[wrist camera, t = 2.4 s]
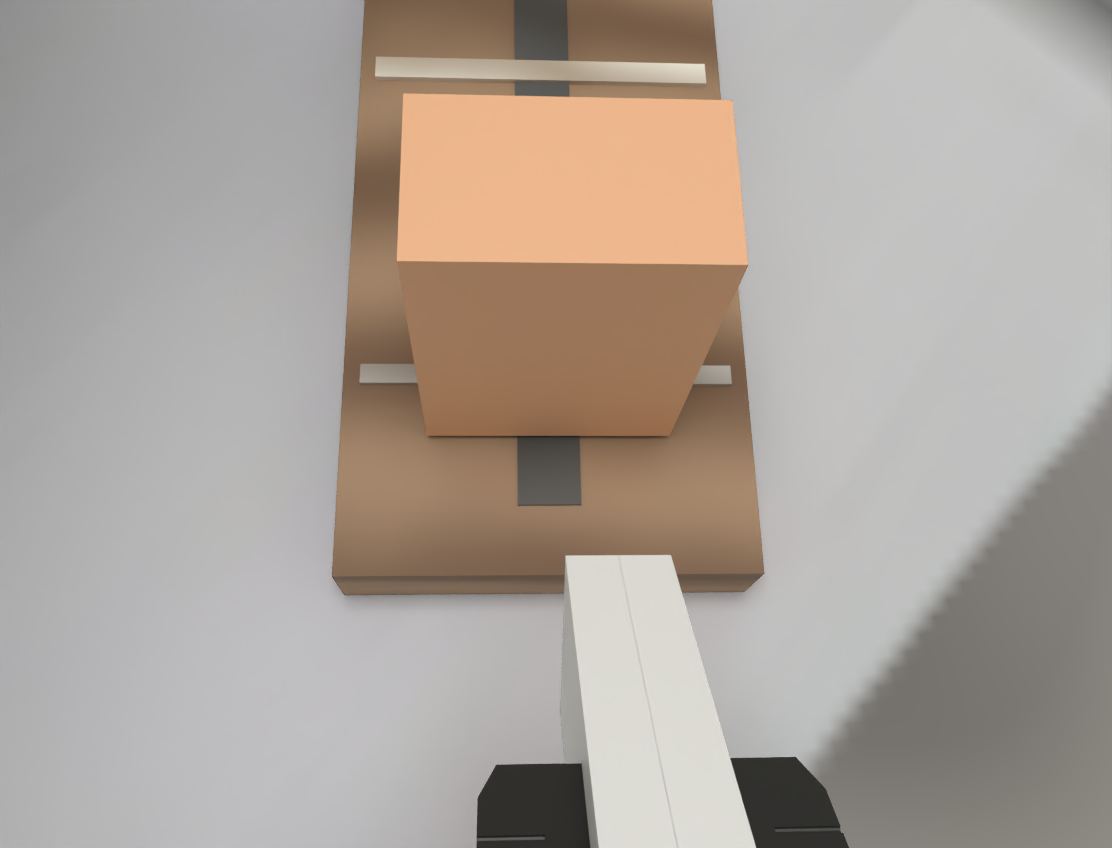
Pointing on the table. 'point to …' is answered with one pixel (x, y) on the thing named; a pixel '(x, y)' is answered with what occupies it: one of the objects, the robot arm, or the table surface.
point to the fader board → (524, 461)
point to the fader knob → (565, 258)
